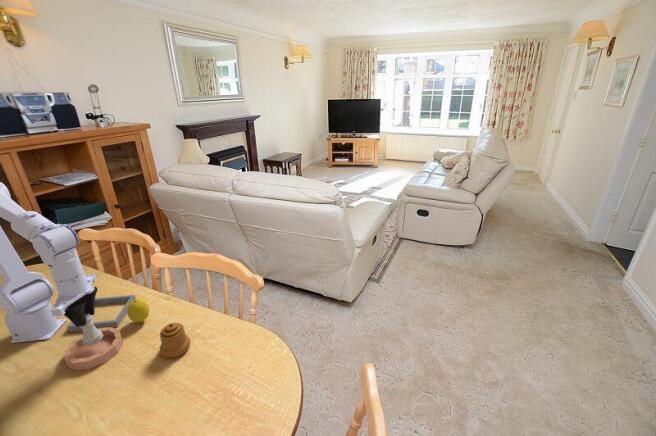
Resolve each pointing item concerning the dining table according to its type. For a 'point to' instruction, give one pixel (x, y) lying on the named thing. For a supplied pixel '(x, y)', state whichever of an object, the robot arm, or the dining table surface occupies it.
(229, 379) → the dining table surface
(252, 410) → the dining table surface
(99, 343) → the bowl
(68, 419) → the dining table surface
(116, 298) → the grey square frame
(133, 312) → the lemon
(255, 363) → the dining table surface
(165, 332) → the ornamental finial
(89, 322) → the rook chess piece
